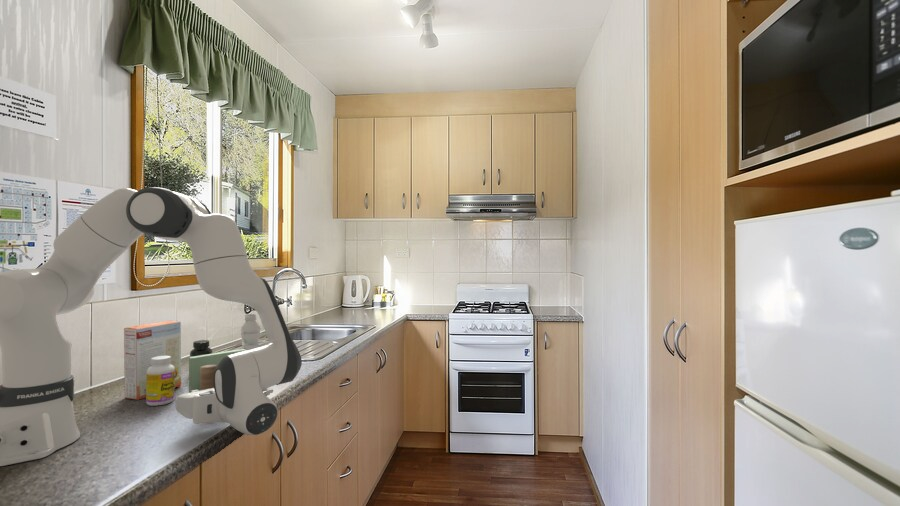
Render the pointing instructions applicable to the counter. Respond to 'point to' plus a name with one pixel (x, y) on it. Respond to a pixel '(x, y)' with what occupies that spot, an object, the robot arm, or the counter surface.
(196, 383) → the wall
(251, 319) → the plastic bottle
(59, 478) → the counter surface
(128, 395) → the cracker box
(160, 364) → the supplement bottle
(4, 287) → the robot arm
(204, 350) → the supplement bottle
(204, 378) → the dowel
